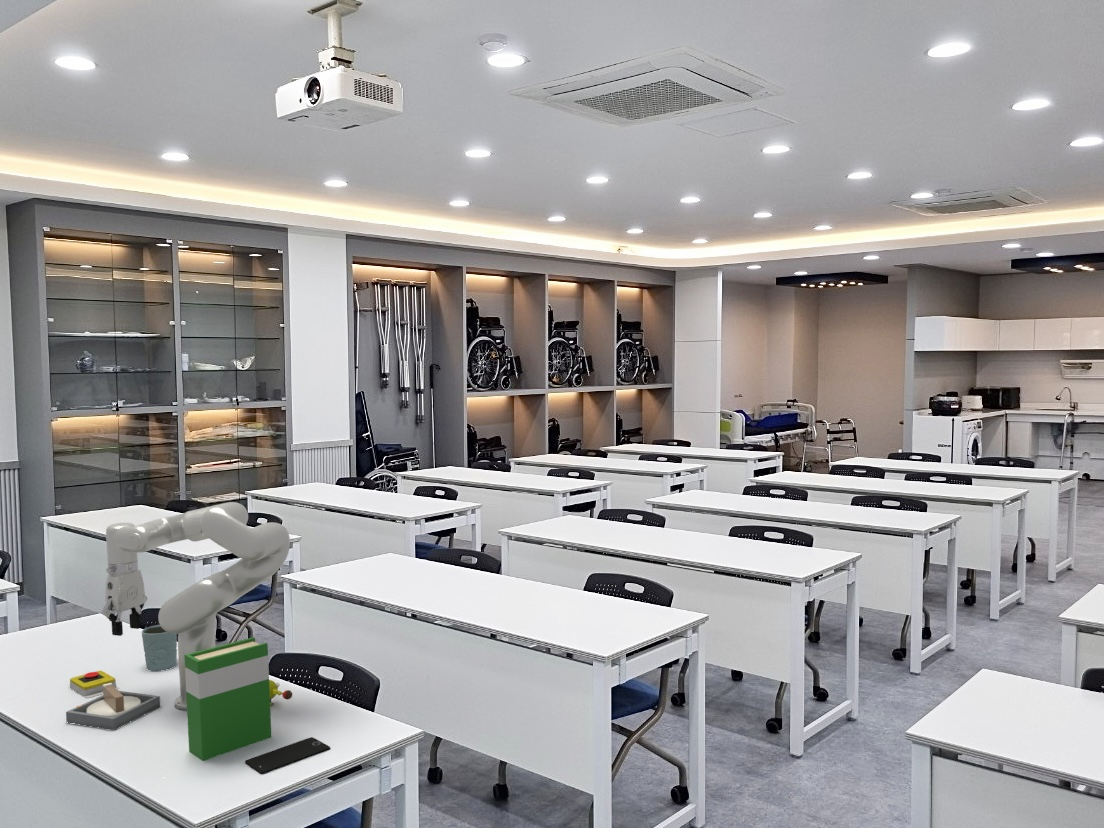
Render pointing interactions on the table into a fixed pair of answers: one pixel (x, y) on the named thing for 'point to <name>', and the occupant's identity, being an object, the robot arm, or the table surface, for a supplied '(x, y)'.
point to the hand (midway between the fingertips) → (126, 631)
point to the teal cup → (159, 648)
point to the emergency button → (91, 683)
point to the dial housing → (112, 723)
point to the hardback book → (227, 698)
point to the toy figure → (274, 691)
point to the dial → (113, 702)
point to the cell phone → (286, 755)
